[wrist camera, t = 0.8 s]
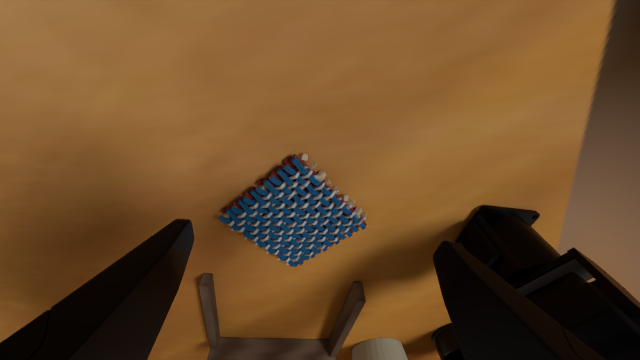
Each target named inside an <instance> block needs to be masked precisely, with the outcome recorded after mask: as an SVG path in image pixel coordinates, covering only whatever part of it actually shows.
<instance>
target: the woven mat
mask: <svg viewBox="0 0 640 360" xmlns="http://www.w3.org/2000/svg"><path fill="white" fill-rule="evenodd" d="M291 158H292V160H291V161H289V160H288V159H287V158H286V159H285V160H284V162H285V163H286V165H285V166H284V167H283V166H282V165H279V166H278V167H277V169H278V170H277V172H275V171H272V172H271V173H270V175H271V176H270V177H267V176H266V177H265V178H264V179H263V180H264V181H262V180H259V181H257V184H258V185H259V186H258V187H256V188H255V187H254V186H253V187H252V188H251V191H250V192H249V191H246V192H245V193H244V194H245V195H246V196H245V197H243V196H242V195H241V196H240V197H239V199H238V200H239V201H238V202H237V201H236V200H235V201H233V203H232V205H233V206H230V205H228V206H227V208H222V209H221V213H225V214H223V215H222V216H220V217H219V218H218V219H219V220H221V221H222V222H225V223H229V224H227V225H228V226H232V228H231V231H233V230H237V232H238V233H240V232H242V233H244V234H245V238H244V239H247V238H248V239H251V240H250V241H255V242H257V243H256V244H255V245H256V246H257V245H259V246H261V247H262V248H263V249H267V250H268V251H267V252H266V253H271V254H273V255H278V257H279V258H278V259H277V260H280V259H281V260H282V261H283V262H287V263H286V265H288V264H290V266H297V265H298V264H300V265H302V264H303V261H304V260H308V259H309V257H310V256H311V258H313V257H315V254H317V253H318V254H319V253H320V252H321V251H320V250H322V249H323V251H326V250H327V247H328V246H329V247H331V246H332V245H333V244H334V242H335V244H338V243H339V240H341V239H345V238H346V237H345V234H347V235H348V236H349V237H351V236H352V233H353V231H354V232H357V231H359V229H358V228H359V226H360V227H361V228H362V229H365V228H366V225H367V224H366V222H365V221H364V219H366V216H367V214H366V213H363V214H362V215H360V214H361V212H362V209H361V208H359V207H356V208H355V209H354V208H352V207H353V206H352V205H353V204H354V203H355V201H354V200H353V199H352V200H350V201H348V198H349V196H348V195H345V194H342V195H340V196H338V195H337V193H338V192H339V190H338V189H337V188H336V187H334V188H332V189H331V188H330V187H329V186H328V185H330V184H331V182H330V181H329V180H328V179H327V180H326V181H324V178H325V177H326V175H327V174H326V173H325V172H324V171H321V170H320V171H319V172H318V173H317V172H314V171H313V169H314V168H315V167H316V166H317V164H316V163H315V162H314V163H313V164H311V165H309V166H307V165H306V164H305V163H304V162H305V161H307V159H308V155H307V154H299V155H298V156H296V155H295V154H294V155H293V156H292V157H291ZM295 166H296V167H297V168H298V169H299V170H298V169H297V168H296V167H295ZM292 175H293V176H292ZM314 184H315V185H317V186H315V185H314ZM306 188H307V189H308V190H309V191H308V190H307V189H306ZM321 190H322V191H321ZM315 196H317V197H315ZM344 201H348V202H346V203H345V202H344ZM300 209H301V210H300ZM231 218H232V219H231ZM251 234H252V235H251ZM263 242H267V243H263ZM302 260H303V261H302ZM294 262H295V263H294Z"/></svg>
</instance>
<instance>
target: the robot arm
mask: <svg viewBox="0 0 640 360" xmlns="http://www.w3.org/2000/svg"><path fill="white" fill-rule="evenodd" d="M539 216H540V214H539V213H538V212H536V211H532V210H523V209H514V208H505V207H496V206H483V207H481V208H480V209H479V210H478V212H477V213H476V214H475V216H474V217H473V219H472V220H471V221H470V223H469V224H468V225H467V227H466V228H465V229H464V231H463V232H462V234H461V235H460V236H459V238H458V239H457V240H456V242H455V241H447V240H444V241H442V242H441V244H440V245H439V247H438V248H437V250H436V251H435V253H434V255H433V261H434V265H435V269H436V273H437V277H438V281H439V285H440V289H441V293H442V296H443V300H444V303H445V306H446V308H447V311H448V314H449V317H450V320H451V322H452V325H453V328H454V331H455V333H456V336H457V339H458V342H459V345H460V347H461V350H462V353H463V356H464V358H465V360H640V302H638V301H637V300H636V299H635V298H634V297H633V296H632V295H631V294H630V293H629V292H628V291H627V290H626V289H625V288H624V287H623V286H621V285H620V284H619V283H618V282H617V281H616V280H615V279H613V278H612V277H611V276H610V275H609V274H608V273H607V272H605V271H604V270H603V269H602V268H601V267H599V266H598V265H597V264H596V263H594V262H593V261H592V260H590V259H589V258H588V257H586V256H585V255H583V254H582V253H581V252H579V251H578V250H577V249H575V248H574V247H573V248H572V249H570V250H568V251H567V253H565V254H564V255H562V256H561V255H560V254H559V253H558V252H557V251H556V250H555V249H554V248H553V247H552V246H551V245H550V244H548V243H547V242H546V241H545V240H544V239H543V238H542V237H541V236H540V235H539V234H538V233H537V232H536V231H535V230H534V229H533V228H532V227H531V225H532V224H533V223H534V222H535V221H536V220H537V219H538V218H539ZM193 242H194V234H193V228H192V223H191V221H190V220H188V219H176V220H174V221H172V222H171V223H170V224H168V225H167V226H165V227H164V228H163V229H161V230H160V231H158V232H157V233H156V234H154V235H153V236H151V237H150V238H148V239H147V240H146V241H144V242H143V243H141V244H140V245H139V246H137V247H136V248H134V249H133V250H132V251H130V252H129V253H127V254H126V255H124V256H123V257H122V258H120V259H119V260H117V261H116V262H115V263H113V264H112V265H110V266H109V267H108V268H106V269H105V270H103V271H102V272H101V273H99V274H98V275H96V276H95V277H93V278H92V279H91V280H89V281H88V282H86V283H85V284H84V285H82V286H81V287H79V288H78V289H77V290H75V291H74V292H72V293H71V294H69V295H68V296H67V297H65V298H64V299H62V300H61V301H60V302H58V303H57V304H55V305H54V306H53V307H51V309H50V310H47V311H45V312H44V313H42V314H41V315H40V316H38V317H37V318H35V319H34V320H33V321H31V322H30V323H28V324H27V325H25V326H24V327H23V328H21V329H20V330H18V331H17V332H15V333H14V334H12V335H11V336H9V337H8V338H7V339H5V340H4V341H2V342H1V343H0V360H147V359H148V356H149V354H150V352H151V350H152V347H153V345H154V343H155V341H156V338H157V336H158V334H159V332H160V329H161V327H162V325H163V323H164V321H165V318H166V316H167V314H168V312H169V309H170V307H171V305H172V303H173V300H174V298H175V296H176V294H177V291H178V289H179V286H180V283H181V280H182V277H183V274H184V271H185V268H186V265H187V261H188V258H189V255H190V252H191V249H192V246H193ZM591 278H595V279H596V280H595V281H593V282H590V283H589V282H587V281H588V280H590V279H591Z"/></svg>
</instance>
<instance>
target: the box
mask: <svg viewBox="0 0 640 360" xmlns="http://www.w3.org/2000/svg"><path fill="white" fill-rule="evenodd" d="M199 289H200V295H201V300H202V306H203V311H204V317H205V323H206V328H207V334H208V339H209V345H210V351H209V355H208V359H207V360H336V356H337V354H338V353H339V351H340V349H341V347H342V345H343V343H344V341H345V339H346V338H347V336H348V334H349V332H350V330H351V328H352V326H353V324H354V323H355V321H356V319H357V317H358V315H359V313H360V311H361V309H362V308H363V306H364V304H365V302H366V300H365V296H364V291H363V286H362V282H354V283H353V285H352V287H351V290H350V292H349V294H348V296H347V299H346V301H345V303H344V305H343V308H342V310H341V312H340V314H339V317H338V319H337V321H336V323H335V326H334V328H333V330H332V332H331V335H330V337H329V339H272V338H220V333H219V324H218V316H217V308H216V299H215V291H214V282H213V274H203V276H202V279H201V281H200V284H199Z"/></svg>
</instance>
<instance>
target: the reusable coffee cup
mask: <svg viewBox="0 0 640 360" xmlns="http://www.w3.org/2000/svg"><path fill="white" fill-rule="evenodd" d="M352 360H408V358H407V356H406V353H405V351H404V348H403V346H402V343H401V342H400V341H398V340H396V339H392V338H375V339H370V340H366V341H363V342H361V343H359V344H357V345H356V346H354V348H353V349H352Z"/></svg>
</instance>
